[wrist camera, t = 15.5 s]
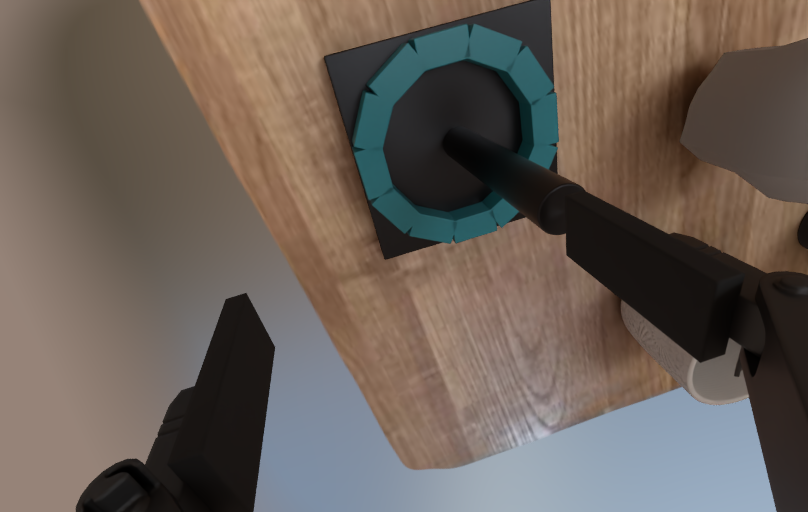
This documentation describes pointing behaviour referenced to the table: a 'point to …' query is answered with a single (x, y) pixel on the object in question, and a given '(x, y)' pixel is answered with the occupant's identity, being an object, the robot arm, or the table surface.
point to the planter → (690, 363)
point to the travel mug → (803, 232)
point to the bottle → (756, 119)
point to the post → (458, 129)
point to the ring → (402, 73)
